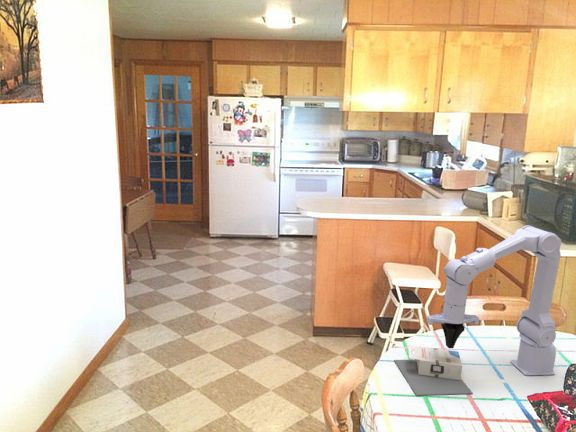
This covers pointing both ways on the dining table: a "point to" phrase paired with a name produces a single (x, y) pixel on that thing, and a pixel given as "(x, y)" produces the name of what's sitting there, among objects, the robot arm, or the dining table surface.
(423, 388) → the rubber mat
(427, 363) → the ink box
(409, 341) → the dining table surface
